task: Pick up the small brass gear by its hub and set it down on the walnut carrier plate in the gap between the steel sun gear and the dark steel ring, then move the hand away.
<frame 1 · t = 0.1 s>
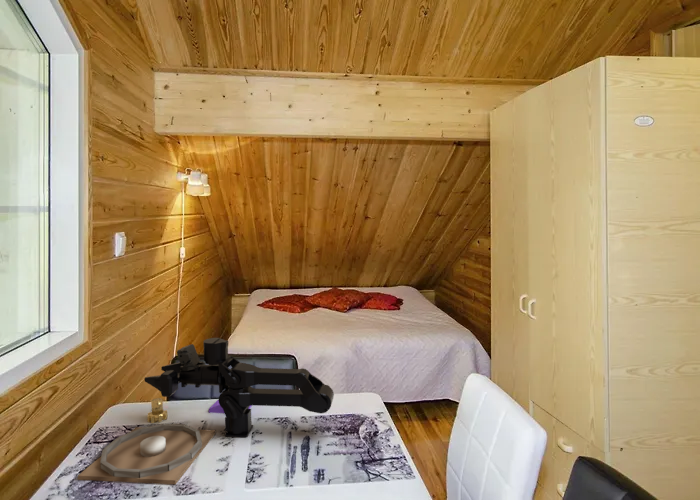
hand: (153, 373, 127), 17 cm above the table, tool horizontal, fingers open, 9 cm apart
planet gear: (157, 419, 134), on the table
carrier: (153, 454, 114), on the table
bracket: (231, 410, 141), on the table
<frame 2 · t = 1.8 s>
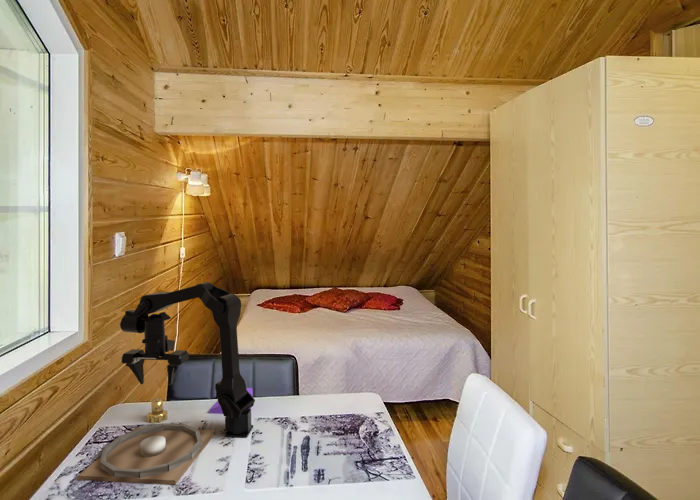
hand: (156, 384, 133), 11 cm above the table, tool pointing down, fingers open, 9 cm apart
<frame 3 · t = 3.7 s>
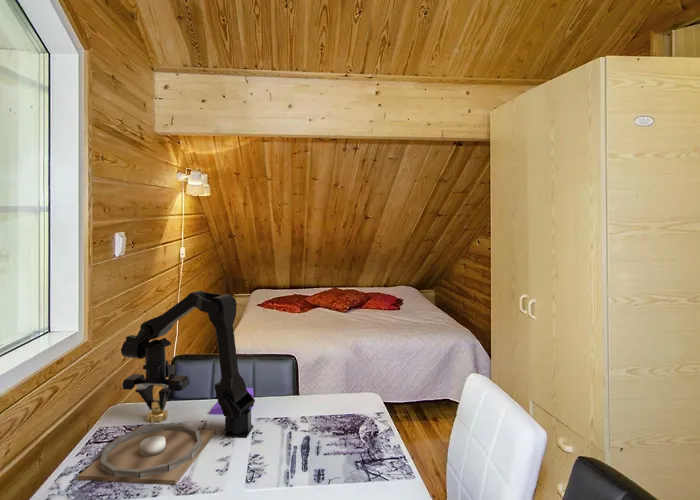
hand: (157, 409, 134), 3 cm above the table, tool pointing down, fingers closed on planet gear, 3 cm apart
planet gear: (157, 419, 134), on the table, touching gripper
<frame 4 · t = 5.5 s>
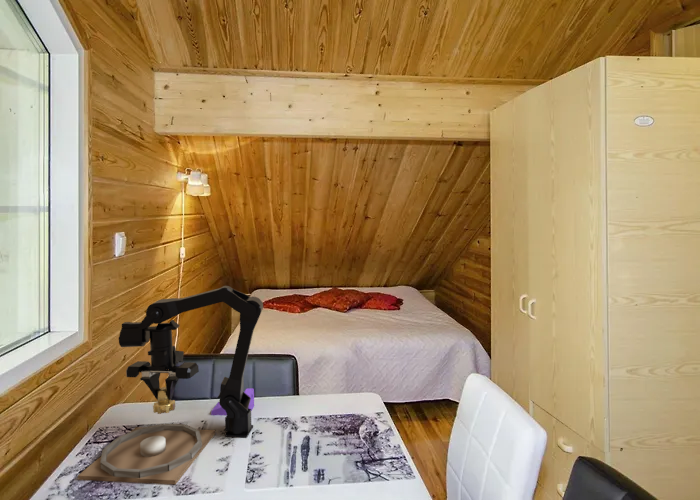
hand: (164, 399, 123), 11 cm above the table, tool pointing down, fingers closed on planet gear, 3 cm apart
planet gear: (164, 409, 123), point 8 cm above the table, touching gripper
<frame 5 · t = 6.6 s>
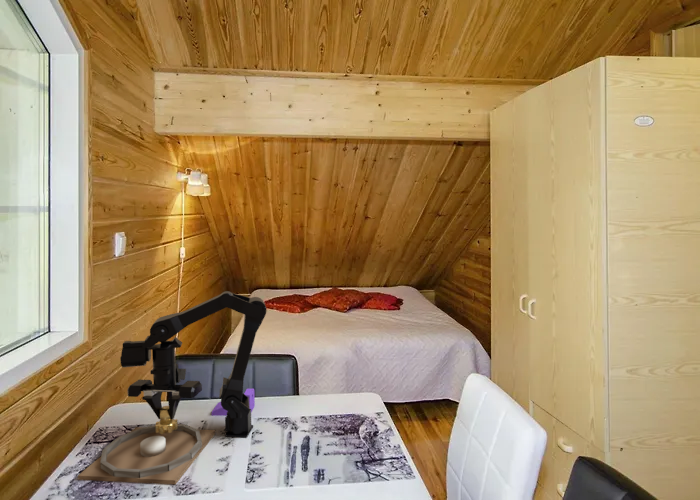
hand: (166, 418, 120), 6 cm above the table, tool pointing down, fingers closed on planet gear, 3 cm apart
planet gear: (166, 429, 121), point 3 cm above the table, touching gripper
when the fingers open (5 cm above the table, at t = 7.5 s): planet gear stays where it is, resting on carrier.
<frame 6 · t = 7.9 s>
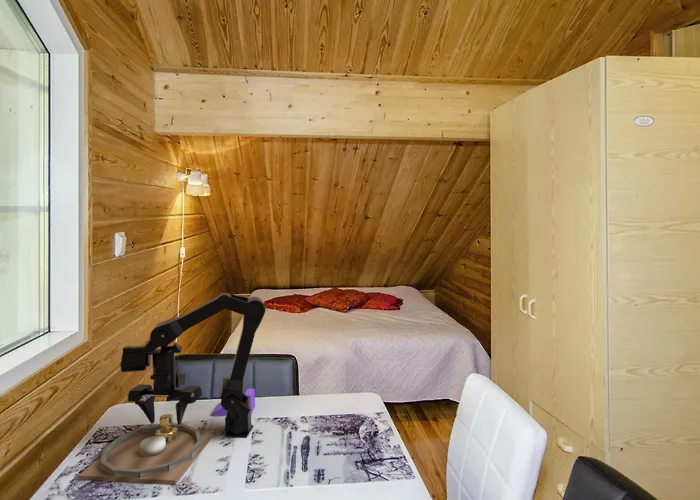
hand: (166, 423, 120), 5 cm above the table, tool pointing down, fingers open, 7 cm apart
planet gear: (166, 437, 121), point 1 cm above the table, touching carrier
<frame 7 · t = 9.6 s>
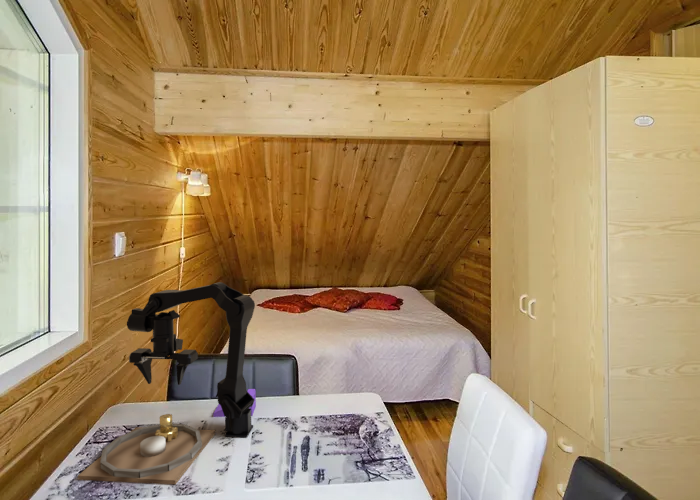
hand: (164, 384, 130), 12 cm above the table, tool pointing down, fingers open, 9 cm apart
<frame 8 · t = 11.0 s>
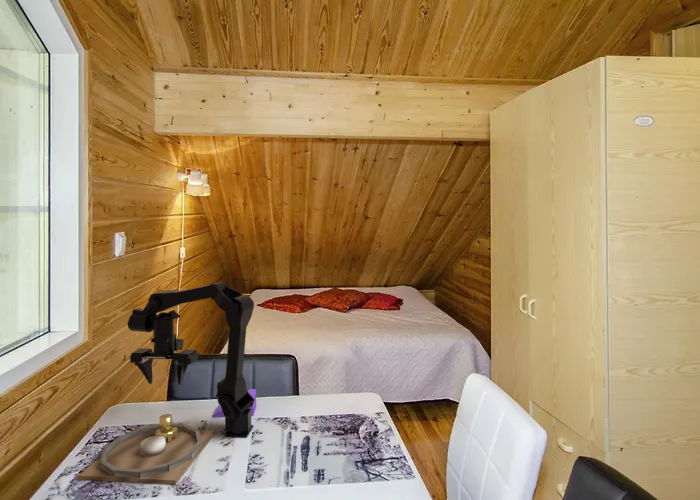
hand: (165, 383, 131), 12 cm above the table, tool pointing down, fingers open, 9 cm apart
at the end: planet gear 0.1 cm from the target spot on the carrier, point 1.0 cm above the carrier's base; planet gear tilted 1°; the gripper is holding nothing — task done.
